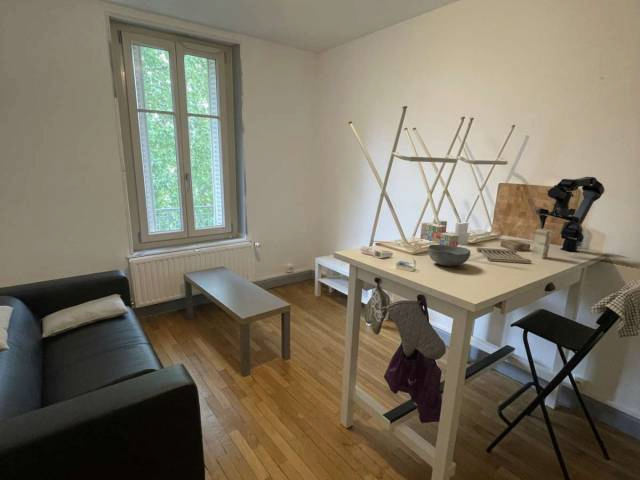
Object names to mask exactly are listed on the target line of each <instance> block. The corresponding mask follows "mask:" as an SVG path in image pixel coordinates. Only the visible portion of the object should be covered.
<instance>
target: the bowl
mask: <svg viewBox="0 0 640 480" xmlns="http://www.w3.org/2000/svg"><path fill="white" fill-rule="evenodd" d="M427 252H428V255H429V258H430V259H431V260H432V261H433V262H435V263H436V264H438V265H440V266H444V267H455V266H459V265H462V264H464V263H466V262H467V261H468V260H469V258H470V256H471V250H470V249H468V248H466V247H462V246H458V245H457V246H450V245H430V246H429V247H427Z"/></svg>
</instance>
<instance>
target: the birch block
mask: <svg viewBox="0 0 640 480" xmlns="http://www.w3.org/2000/svg"><path fill="white" fill-rule="evenodd" d="M552 233H553V230H550V229H544V228H543V229H541V228H538V229H536V230H535V235H534V241H533V246H532V250H531V257H532V258H536V259H540V260H542V259H547V258H548V254H549V249H550V244H551V238H552Z"/></svg>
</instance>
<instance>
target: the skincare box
mask: <svg viewBox="0 0 640 480" xmlns="http://www.w3.org/2000/svg"><path fill="white" fill-rule="evenodd" d="M435 220H436V219H434V222H433V223H434V224H437V222H436V221H435ZM438 220H439V223H440V225H443V226H446V227H447V225H448V221H447V220H443V219H438Z"/></svg>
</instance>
